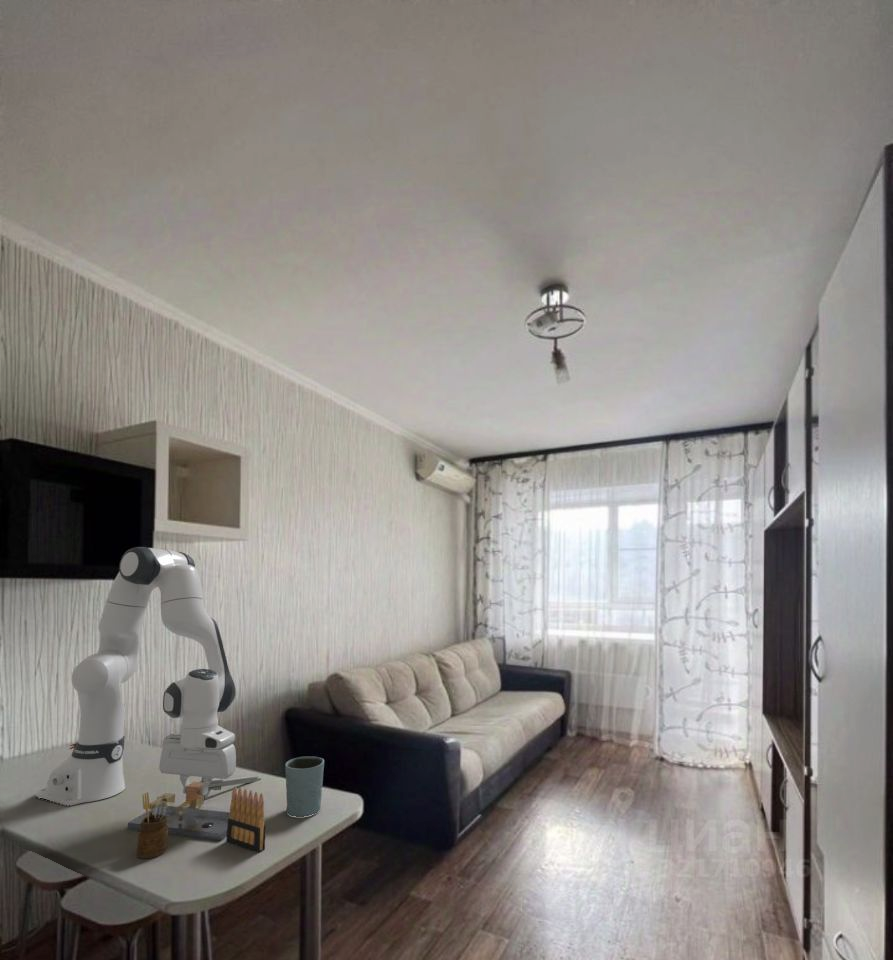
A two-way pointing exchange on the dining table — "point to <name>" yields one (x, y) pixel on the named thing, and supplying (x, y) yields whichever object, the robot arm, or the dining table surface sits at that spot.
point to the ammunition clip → (246, 821)
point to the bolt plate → (188, 819)
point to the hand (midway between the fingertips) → (195, 793)
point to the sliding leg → (191, 798)
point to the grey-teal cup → (304, 785)
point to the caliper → (228, 783)
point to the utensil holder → (152, 833)
